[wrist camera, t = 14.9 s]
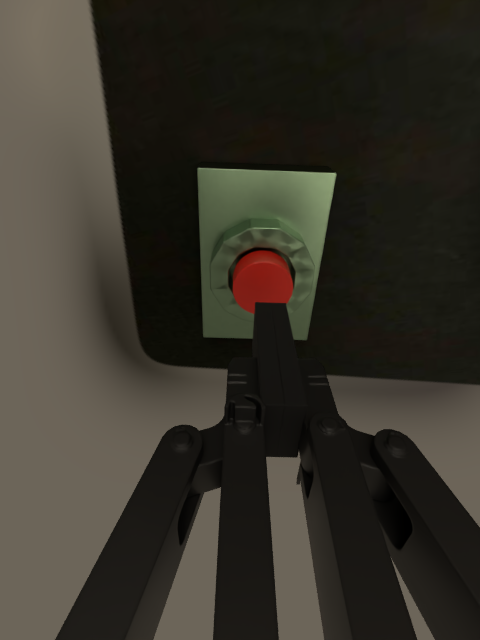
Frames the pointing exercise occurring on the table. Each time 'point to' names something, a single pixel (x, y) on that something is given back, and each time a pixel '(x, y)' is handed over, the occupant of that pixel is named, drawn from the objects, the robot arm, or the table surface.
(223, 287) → the button block
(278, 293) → the button
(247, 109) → the table surface
